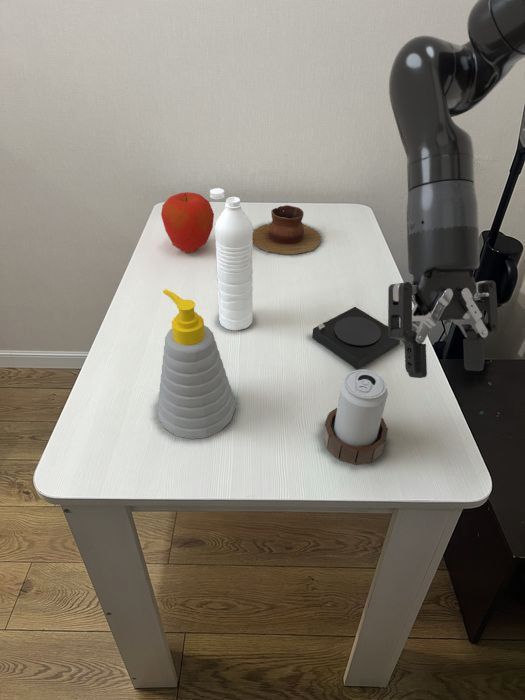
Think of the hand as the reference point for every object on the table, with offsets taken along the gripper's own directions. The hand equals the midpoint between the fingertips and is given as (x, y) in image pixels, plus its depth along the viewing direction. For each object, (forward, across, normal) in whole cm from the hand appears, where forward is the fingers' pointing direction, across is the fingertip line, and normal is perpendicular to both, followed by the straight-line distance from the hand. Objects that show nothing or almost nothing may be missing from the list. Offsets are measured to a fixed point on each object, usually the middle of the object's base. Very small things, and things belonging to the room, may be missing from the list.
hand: (446, 373), depth 56 cm
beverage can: (+12, 0, +19) cm, 23 cm away
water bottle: (-8, -7, +49) cm, 50 cm away
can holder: (+12, 0, +19) cm, 22 cm away
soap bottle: (+6, -20, +33) cm, 39 cm away
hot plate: (-2, +12, +35) cm, 37 cm away
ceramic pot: (-28, +17, +69) cm, 76 cm away
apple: (-25, -7, +74) cm, 78 cm away
